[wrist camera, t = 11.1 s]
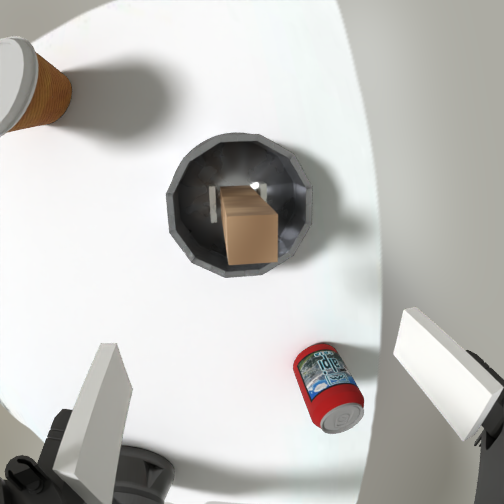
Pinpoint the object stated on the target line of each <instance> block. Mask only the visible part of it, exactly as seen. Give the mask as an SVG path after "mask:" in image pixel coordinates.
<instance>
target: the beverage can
mask: <svg viewBox="0 0 504 504" xmlns="http://www.w3.org/2000/svg"><path fill="white" fill-rule="evenodd" d="M293 370H294V373H295V376H296V379H297V382H298V385H299V387H300V390H301V393H302V396H303V398H304V401H305V404H306V406H307V409H308V411H309V414H310V417H311V419H312V422H313V423H314V424H315V425H316V426H318V427H319V428H321V429H322V430H323V431H324V432H325V433H328V434H336V433H341V432H344V431H346V430H348V429H350V428H352V427H353V426H355V425H356V424H357V423H358V422H359V421H360V420H361V419H362V417H363V415H364V409H363V407H364V397H363V395H362V393H361V392H360V390H359V388H358V386H357V385H356V383H355V381H354V379H353V378H352V376H351V374H350V372H349V371H348V369H347V367H346V366H345V364H344V362H343V361H342V359H341V357H340V356H339V354H338V352H337V351H336V349H335V348H334V347H332V346H330V345H327V344H317V345H313V346H311V347H308V348H306V349H305V350H303V351H302V352H301V353H300V354H299V355H298V356H297V357H296V359H295V361H294V364H293Z"/></svg>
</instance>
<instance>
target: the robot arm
mask: <svg viewBox="0 0 504 504" xmlns="http://www.w3.org/2000/svg"><path fill="white" fill-rule="evenodd" d="M393 355H394V356H395V357H396V358H397V359H398V361H399V362H400V363H401V364H402V365H403V367H404V368H405V369H406V370H407V372H408V373H409V374H410V375H411V376H412V378H413V379H414V380H415V381H416V383H417V384H418V385H419V386H420V387H421V389H422V390H423V391H424V393H425V394H426V395H427V396H428V398H429V399H430V400H431V401H432V403H433V404H434V405H435V406H436V408H437V409H438V410H439V411H440V413H441V414H442V415H443V417H444V418H445V419H446V420H447V422H448V423H449V424H450V426H451V427H452V428H453V429H454V431H455V432H456V433H457V435H458V436H459V437H460V439H461V440H462V441H465V440H467V439H468V438H470V437H472V436H473V435H475V433H476V432H477V431H478V429H479V428H480V426H481V425H482V426H483V427H484V430H483V431H482V433H481V434H480V436H479V437H478V439H477V440H476V441H475V444H474V446H476V445H477V444H478V443H479V441H480V440H481V444H480V445H479V447H481V453H480V466H479V475H478V482H477V489H476V496H475V501H474V504H504V380H503V379H502V378H501V377H500V376H499V375H498V374H497V373H496V372H495V371H494V370H493V369H492V368H489V366H488V364H486V363H484V361H483V360H482V359H481V358H480V357H479V356H478V355H477V354H475V353H473V352H471V351H469V350H466V351H465V350H464V349H463V348H462V347H461V346H460V345H459V344H458V343H456V342H455V341H454V340H453V339H452V338H451V337H450V336H449V335H447V334H446V333H445V332H444V331H443V330H442V329H441V328H440V327H438V326H437V325H436V324H435V323H434V322H433V321H432V320H431V319H429V318H428V317H427V316H426V315H425V314H424V313H422V312H421V311H420V310H419V309H418V308H417V307H412V308H407V309H404V311H403V315H402V320H401V324H400V329H399V333H398V337H397V342H396V345H395V349H394V353H393ZM132 391H133V388H132V386H131V383H130V380H129V378H128V375H127V372H126V369H125V367H124V364H123V361H122V358H121V355H120V352H119V349H118V346H117V343H101V344H100V346H99V349H98V351H97V353H96V355H95V358H94V360H93V362H92V364H91V367H90V369H89V371H88V374H87V376H86V378H85V381H84V383H83V386H82V388H81V391H80V393H79V396H78V398H77V401H76V403H75V406H74V408H73V410H69V409H62V410H61V411H60V412H59V414H58V415H57V416H56V417H55V418H54V421H53V423H52V426H51V430H50V431H49V433H48V436H47V437H48V438H46V441H45V444H44V446H43V449H42V452H41V455H40V458H39V460H38V463H36V462H35V461H34V460H33V459H32V458H30V457H28V456H23V455H21V456H16V457H15V458H13V459H11V460H10V461H9V463H8V464H7V466H6V469H5V476H6V478H7V479H8V480H3V479H2V478H1V477H0V504H164V500H165V497H166V495H167V493H168V491H169V489H170V487H171V484H172V482H173V480H174V468H173V466H172V464H171V463H170V462H169V461H168V460H166V459H165V458H163V457H161V456H159V455H157V454H155V453H153V452H150V451H147V450H143V449H139V448H135V447H127V446H121V443H122V438H123V432H124V427H125V423H126V418H127V413H128V408H129V404H130V399H131V395H132Z"/></svg>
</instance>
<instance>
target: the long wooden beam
mask: <svg viewBox="0 0 504 504" xmlns="http://www.w3.org/2000/svg"><path fill="white" fill-rule="evenodd" d="M220 201H221V218H222V225H223V231H224V238H225V244H226V251H227V257H228V264H229V265H240V264H256V263H271V262H278V214H277V213H276V212H275V211H274V210H273V209H272V208H271V207H270V206H269V205H268V204H267V203H266V202H265V201H264V200H263V199H262V198H261V197H260V196H259V195H258V194H257V193H256V192H255V191H254V190H253V189H252V188H251V187H250V186H249V185H242V186H220Z"/></svg>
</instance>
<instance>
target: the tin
mask: <svg viewBox="0 0 504 504" xmlns="http://www.w3.org/2000/svg"><path fill="white" fill-rule="evenodd" d="M242 185H249V186H250V187H251V188H252V189H253V190H254V191H255V192H256V193H257V194H258V195H259V196H260V197H261V198H262V199H263V200H264V201H265V202H266V203H267V204H268V205H269V206H270V207H271V208H272V209H273V210H274V211H275V212H276V213H277V214H278V262H271V263H256V264H240V265H229V264H228V257H227V251H226V244H225V238H224V231H223V225H222V218H221V201H220V186H242ZM166 202H167V213H168V223H169V233H170V234H171V235H172V237H173V238H174V240H175V241H176V242H177V244H178V245H179V246H180V248H181V249H182V250H183V252H184V253H185V254H186V256H187V257H188V259H189V260H190V261H191V263H193V264H195V265H198V266H200V267H202V268H204V269H207V270H209V271H211V272H213V273H216V274H218V275H220V276H222V277H225V278H229V277H243V276H256V275H263V274H265V273H266V272H268V271H269V270H271V269H273V268H274V267H276V266H277V265H279V264H281V263H282V262H284V261H285V260H287V259H289V258H290V257H292V256H293V255H294V253H295V252H296V250H297V248H298V247H299V245H300V243H301V242H302V240H303V238H304V236H305V235H306V233H307V231H308V229H309V228H310V226H311V224H312V185H311V183H310V181H309V179H308V178H307V176H306V174H305V172H304V171H303V169H302V167H301V165H300V164H299V162H298V160H297V158H296V157H295V155H294V153H292V152H290V151H289V150H287V149H285V148H283V147H282V146H280V145H278V144H276V143H275V142H273V141H271V140H269V139H267V138H265V137H264V136H262V135H260V134H247V133H226V134H222V135H218V136H215V137H212V138H210V139H207V140H206V141H204V142H202V143H200V144H199V145H198V146H196V147H195V148H193V149H192V150H191V151H190V152H189V153H188V154H187V155H186V156H185V157H184V158H183V160H182V162H181V163H180V165H179V166H178V168H177V170H176V172H175V175H174V177H173V180H172V182H171V184H170V186H169V188H168V191H167V193H166Z"/></svg>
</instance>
